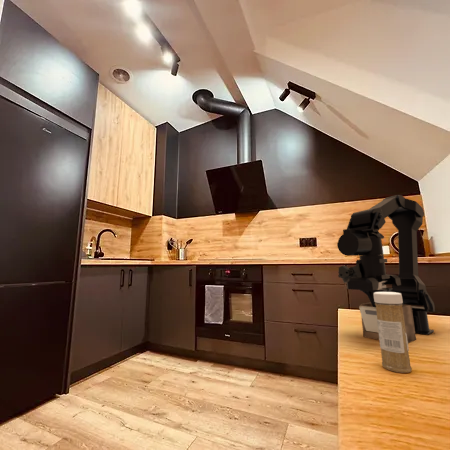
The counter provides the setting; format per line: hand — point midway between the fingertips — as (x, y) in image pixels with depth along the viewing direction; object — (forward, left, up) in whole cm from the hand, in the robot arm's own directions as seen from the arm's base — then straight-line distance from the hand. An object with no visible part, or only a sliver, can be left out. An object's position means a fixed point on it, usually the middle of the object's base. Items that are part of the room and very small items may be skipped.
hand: (379, 315), depth 64 cm
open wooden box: (-5, 0, -6) cm, 8 cm away
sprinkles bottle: (+18, +10, -6) cm, 22 cm away
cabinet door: (-1, 0, -5) cm, 5 cm away
